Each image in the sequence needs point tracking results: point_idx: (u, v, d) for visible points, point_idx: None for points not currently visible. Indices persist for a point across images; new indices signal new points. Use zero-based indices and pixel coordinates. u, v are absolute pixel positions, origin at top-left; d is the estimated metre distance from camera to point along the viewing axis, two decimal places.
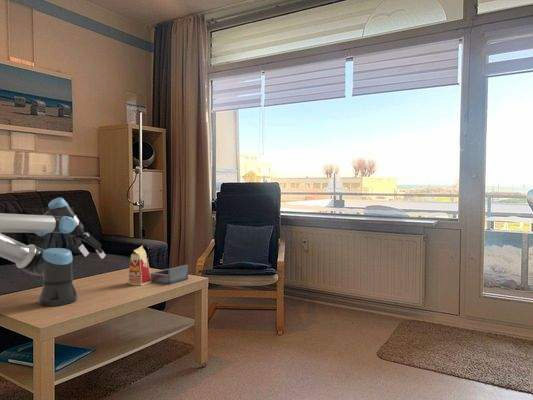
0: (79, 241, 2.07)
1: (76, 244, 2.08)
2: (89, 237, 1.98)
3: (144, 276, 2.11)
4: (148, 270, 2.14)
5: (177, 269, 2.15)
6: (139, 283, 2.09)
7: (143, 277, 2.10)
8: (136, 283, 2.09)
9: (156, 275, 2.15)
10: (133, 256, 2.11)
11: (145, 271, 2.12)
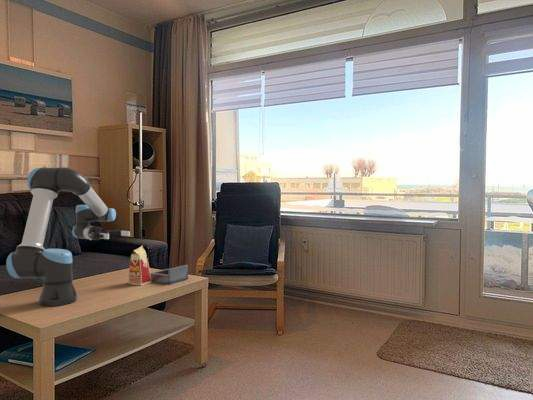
0: None
1: (97, 233, 2.12)
2: None
3: (144, 276, 2.11)
4: (148, 270, 2.14)
5: (177, 269, 2.15)
6: (139, 283, 2.09)
7: (143, 277, 2.10)
8: (136, 283, 2.09)
9: (156, 275, 2.15)
10: (133, 256, 2.11)
11: (145, 271, 2.12)
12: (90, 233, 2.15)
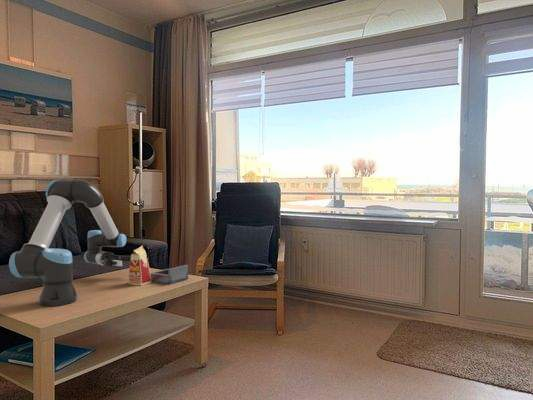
0: None
1: (110, 260, 2.15)
2: None
3: (144, 276, 2.11)
4: (148, 270, 2.14)
5: (177, 269, 2.15)
6: (139, 283, 2.09)
7: (143, 277, 2.10)
8: (136, 283, 2.09)
9: (156, 275, 2.15)
10: (133, 256, 2.11)
11: (145, 271, 2.12)
12: (103, 260, 2.18)
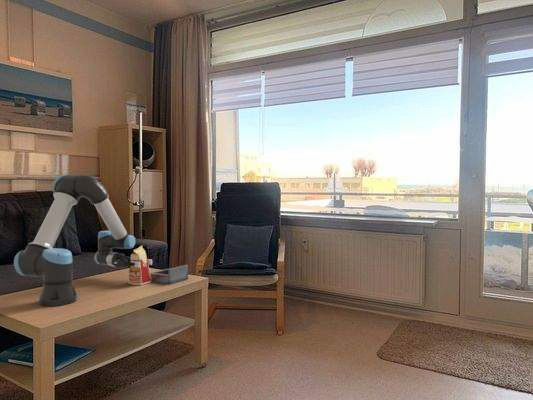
0: None
1: (127, 261, 2.11)
2: None
3: (144, 276, 2.11)
4: (148, 270, 2.14)
5: (177, 269, 2.15)
6: (139, 283, 2.09)
7: (143, 277, 2.10)
8: (136, 283, 2.09)
9: (156, 275, 2.15)
10: (133, 256, 2.11)
11: (145, 270, 2.12)
12: (116, 261, 2.13)
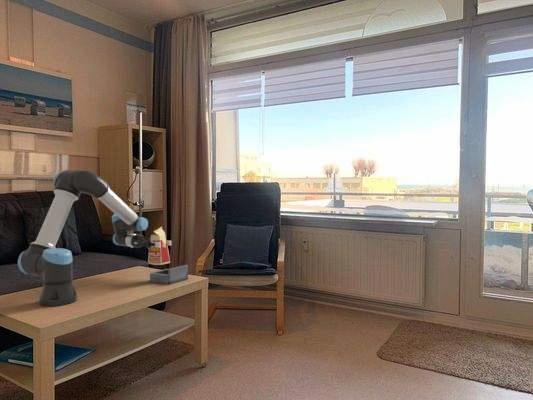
0: None
1: (147, 241, 2.16)
2: None
3: (163, 256, 2.16)
4: (167, 251, 2.20)
5: (177, 269, 2.15)
6: (159, 263, 2.14)
7: (162, 257, 2.15)
8: (156, 263, 2.14)
9: (156, 275, 2.15)
10: (153, 237, 2.16)
11: (165, 251, 2.17)
12: (136, 241, 2.18)
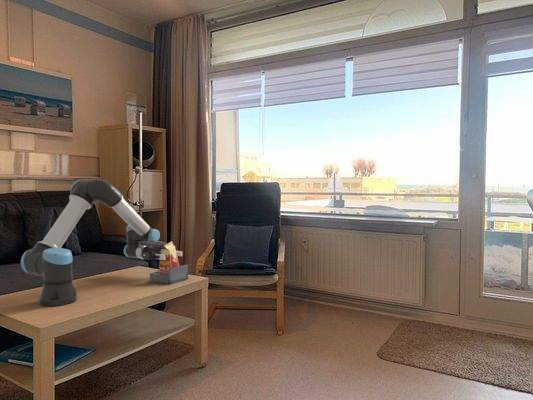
0: None
1: (152, 253, 2.17)
2: None
3: None
4: (177, 265, 2.21)
5: (177, 269, 2.15)
6: None
7: None
8: None
9: (156, 275, 2.15)
10: (163, 251, 2.17)
11: (175, 265, 2.18)
12: (144, 253, 2.19)
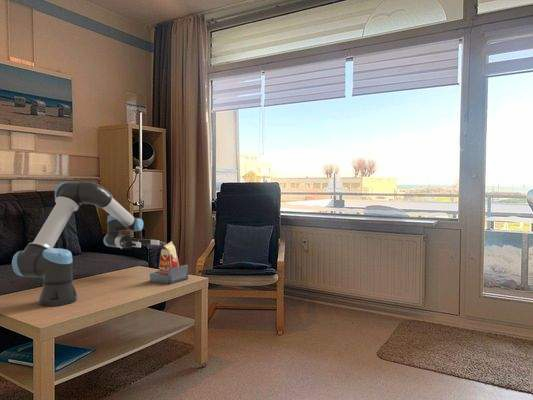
0: None
1: None
2: None
3: None
4: (177, 265, 2.21)
5: (177, 269, 2.15)
6: None
7: None
8: None
9: (156, 275, 2.15)
10: (163, 251, 2.17)
11: (175, 265, 2.18)
12: (122, 242, 2.26)
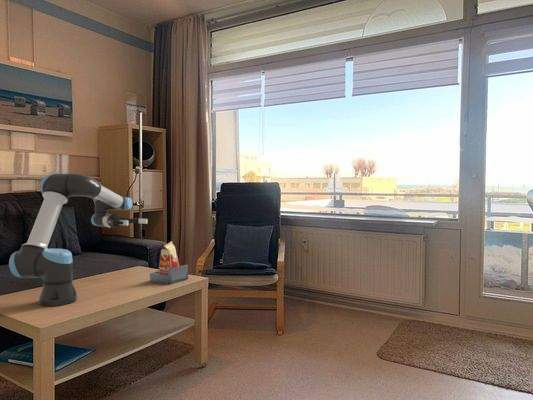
0: None
1: (117, 220, 2.22)
2: None
3: None
4: (177, 265, 2.21)
5: (177, 269, 2.15)
6: None
7: None
8: None
9: (156, 275, 2.15)
10: (163, 251, 2.17)
11: (175, 265, 2.18)
12: (110, 220, 2.24)
